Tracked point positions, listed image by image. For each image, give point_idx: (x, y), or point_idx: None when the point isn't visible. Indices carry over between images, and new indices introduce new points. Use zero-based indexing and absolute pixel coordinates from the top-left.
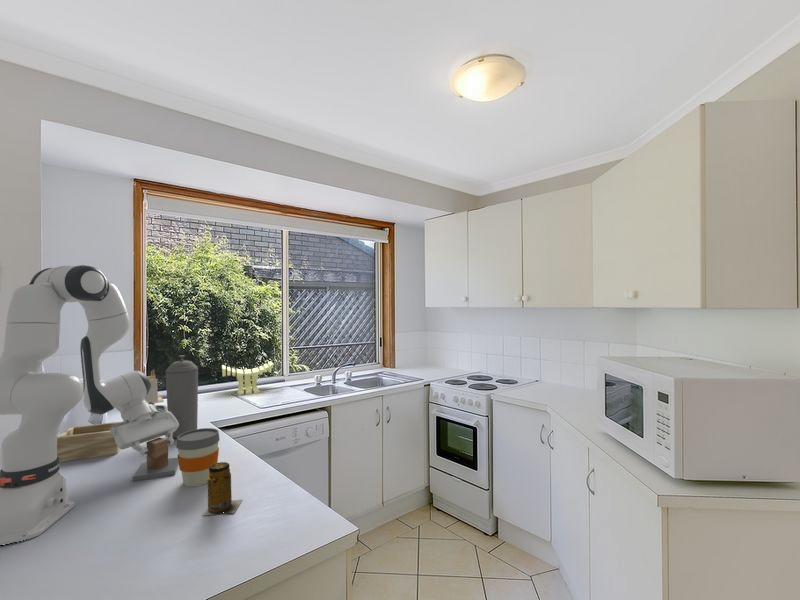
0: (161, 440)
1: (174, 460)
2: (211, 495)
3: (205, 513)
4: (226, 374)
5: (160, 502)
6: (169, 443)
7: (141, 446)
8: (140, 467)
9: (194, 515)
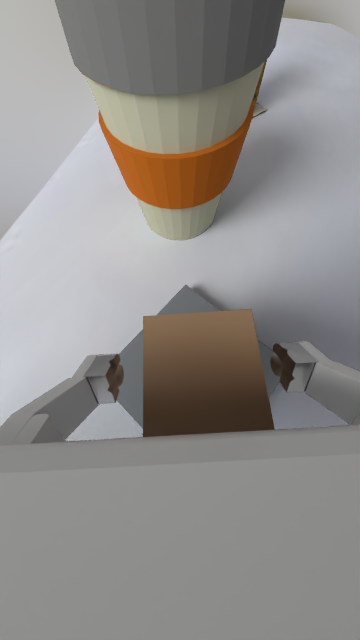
0: (185, 333)
1: (129, 365)
2: None
3: (260, 110)
4: None
5: (288, 194)
6: (118, 366)
7: (338, 370)
8: None
9: (272, 120)
